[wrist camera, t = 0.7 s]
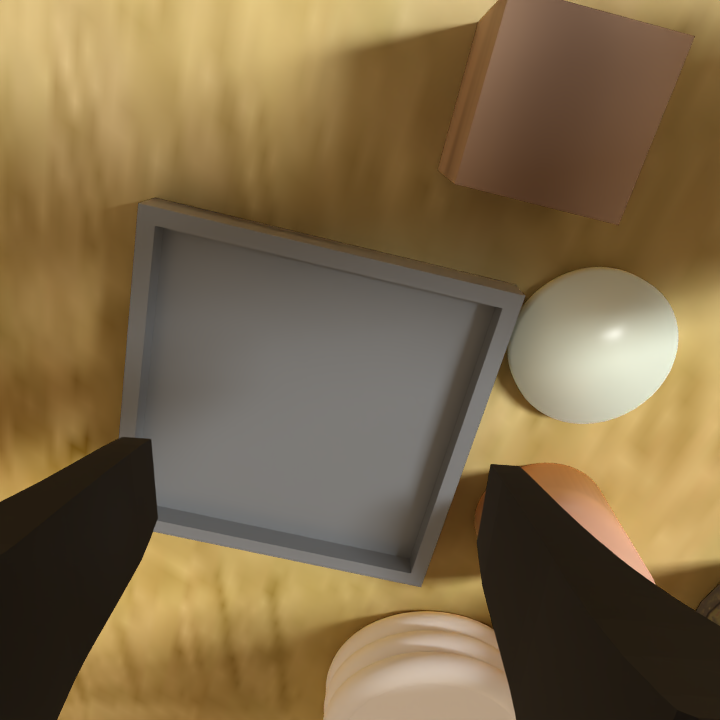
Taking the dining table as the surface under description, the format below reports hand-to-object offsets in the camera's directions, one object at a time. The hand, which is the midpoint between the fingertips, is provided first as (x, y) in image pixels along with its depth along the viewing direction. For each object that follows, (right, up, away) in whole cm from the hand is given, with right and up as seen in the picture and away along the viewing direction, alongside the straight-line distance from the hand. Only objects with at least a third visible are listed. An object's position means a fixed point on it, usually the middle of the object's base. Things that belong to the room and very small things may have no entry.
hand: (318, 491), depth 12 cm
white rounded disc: (+9, +3, +10) cm, 14 cm away
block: (+6, +11, +7) cm, 14 cm away
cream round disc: (+4, -13, +17) cm, 22 cm away
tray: (-1, +1, +11) cm, 11 cm away
